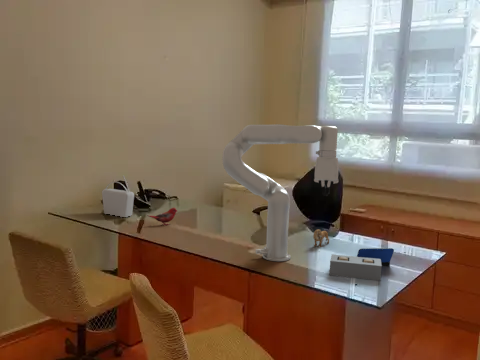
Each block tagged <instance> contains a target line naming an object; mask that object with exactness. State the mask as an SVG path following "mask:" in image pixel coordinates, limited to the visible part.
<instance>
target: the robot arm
mask: <svg viewBox="0 0 480 360" xmlns="http://www.w3.org/2000/svg"><path fill="white" fill-rule="evenodd" d="M338 130H339V129H338V127H336V126H334V125H324V126H323V125H322V126H319V125H314V124H309V125H288V124H287V125H286V124H277V123H275V124H248V125H246V126H244V127H243V129H242V130H241V131H240V132H239V133H237V135H236V136H235V137H233V138H232V140H230V141H229V142H228V143H227V144H226V145H225V146H224V148H223V152H222V159H221V160H222V166H223V169H224V171H225V172H226V173H227V175H228V176H230V177H231V179H233V180H235V181H236V182H237V183H238V184H239V185H241V186H242V187H244V188H245V189H246V190H248V191H249V192H250V193H252V194H253V195H255V196H259V197H261V198H262V199H264V200H265V201H267V214H266V215H267V217H266V243H265V244H266V246H264V247H263V248H261V249H260V248H258V249H257V248H256V249H255V254H260V255H262V258H263V259H264V260H267V261H271V262H286V261H287V262H288V261H289V260H291V256H292V255H291V254H289V253H288V242H289V221H290V207H291V198H290V194H289V193H288V191H287V189H286V188H284V186H282V185H281V184H279V183H278V182H276V181H275V180H273V179H272V178H271V177H269V176H267V174H265V173H262V172H257V171H256V170H255V169H253V168H251V167H250V166H249V165H247V164H246V163H245V162H244V160H243V159H242V158H243V155H244V154H245V153H246V152H247V151H249V150H250V149H251V147H253V146H254V145H288V144H315V143H316V144H317V143H319V147H318V149H319V150H316V151H315V155H318V156H316V160H315V166H314V178H313V181H314V182H315V183H318V184H319V185H320V186H321V191H322V192H321V194H322V195H323V196H322V197H324V196H325V197H328V195H329V194H330V187H331V186H332V185H333V184H338V183H339V159H338V157H337V148H338V147H337V144H338ZM325 181H327V184H326V183H325Z"/></svg>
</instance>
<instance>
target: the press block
mask: <svg viewBox="0 0 480 360" xmlns="http://www.w3.org/2000/svg"><path fill="white" fill-rule="evenodd" d="M339 257H346V258H348V261H344V260H339ZM365 259H369V260H372V261H373V263H365V262H364V260H365ZM382 267H383V266H382V265H381V259H376V258H365V257H357V256H354V255H345V254H344V255H343V254H331V256H330V260H329V276H333V277H341V278H353V279H361V280H372V281H381V280H382Z"/></svg>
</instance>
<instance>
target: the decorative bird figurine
mask: <svg viewBox="0 0 480 360" xmlns="http://www.w3.org/2000/svg"><path fill="white" fill-rule="evenodd" d="M177 212H178V210H177V208H176V207H171V208H170V209H168V210H166V211H165V212H162V213H159V214H157V215H147V216H146V217H149V218H152V219H155V220H156V221H157V222H160V223H162V224H161V226H169V225H171V223H169V222H171V221H172V220H173V219H174V217H175V215H176V213H177Z"/></svg>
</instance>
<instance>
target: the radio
mask: <svg viewBox="0 0 480 360" xmlns="http://www.w3.org/2000/svg"><path fill="white" fill-rule="evenodd" d="M122 178H123V179H124V183H125V185H126V186H125V185H124V184H122V183H121V182H119V181H116V183H117V184H120V185H121V186H123V188H124V190H123V189H116V188H108V187H109V186H110V185H111V184H113V183H114V181H112V182H110V183H109V184H108V185H107V186H106V187H105V188H104V189H102V191H101V195H102V196H101V197H102V205H103V214H105V215H106V214H110V215H109V216H112V215H115V216H114V217H117V216H120V217H119V218H122V217H126V218H129V217H128V216H130V217H132V216H133V212H134V211H133V208H134V200H135V192H133V191H130V190H131V189H129V186H128V182H127V180H126V178H125V175H122ZM131 215H132V216H131Z"/></svg>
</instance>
